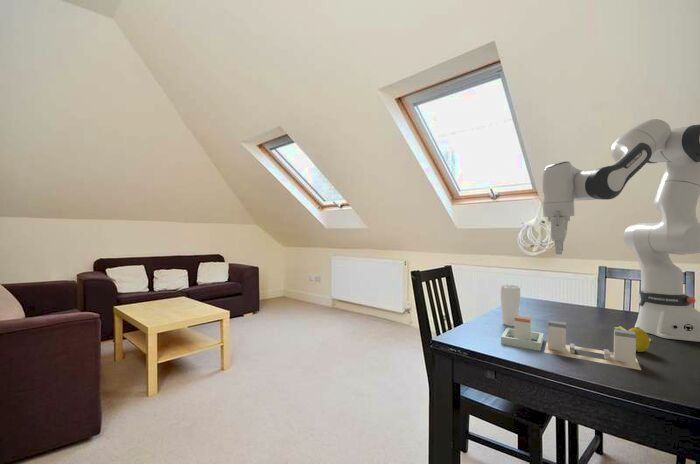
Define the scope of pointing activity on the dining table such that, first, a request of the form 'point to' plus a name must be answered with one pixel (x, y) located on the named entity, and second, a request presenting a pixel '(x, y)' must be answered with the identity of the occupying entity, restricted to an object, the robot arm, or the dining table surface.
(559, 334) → the block
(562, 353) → the holder board
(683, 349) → the dining table surface
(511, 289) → the drinking glass
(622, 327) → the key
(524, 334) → the marked fuse
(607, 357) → the clip jaws
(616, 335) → the fuse
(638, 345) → the lemon
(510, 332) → the tray
